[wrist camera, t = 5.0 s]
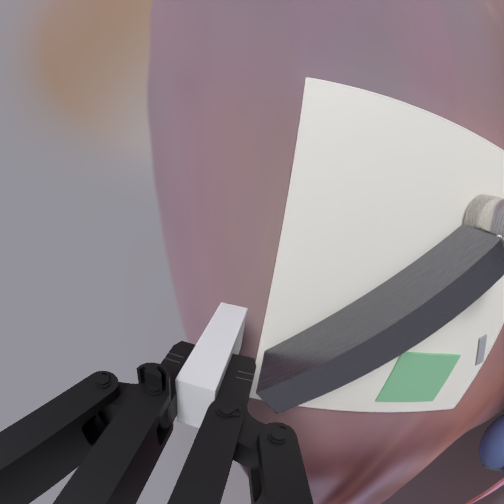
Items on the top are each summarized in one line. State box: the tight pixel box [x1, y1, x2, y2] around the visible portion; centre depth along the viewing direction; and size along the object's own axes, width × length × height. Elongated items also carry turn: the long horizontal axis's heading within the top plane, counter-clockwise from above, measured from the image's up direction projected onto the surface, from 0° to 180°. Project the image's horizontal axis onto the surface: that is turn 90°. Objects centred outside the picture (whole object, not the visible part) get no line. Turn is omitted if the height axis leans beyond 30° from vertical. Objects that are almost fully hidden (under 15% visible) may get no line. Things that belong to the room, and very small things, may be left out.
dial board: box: [249, 77, 504, 412], centre depth 15 cm, size 20×22×2 cm
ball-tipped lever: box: [256, 194, 504, 413], centre depth 12 cm, size 19×4×4 cm, turn 126°
